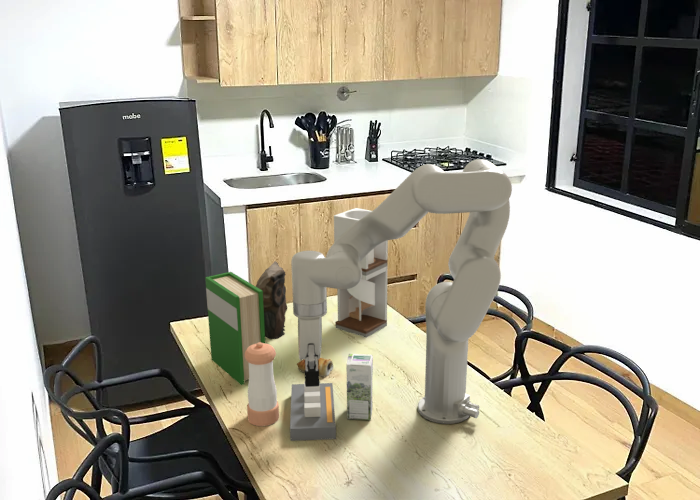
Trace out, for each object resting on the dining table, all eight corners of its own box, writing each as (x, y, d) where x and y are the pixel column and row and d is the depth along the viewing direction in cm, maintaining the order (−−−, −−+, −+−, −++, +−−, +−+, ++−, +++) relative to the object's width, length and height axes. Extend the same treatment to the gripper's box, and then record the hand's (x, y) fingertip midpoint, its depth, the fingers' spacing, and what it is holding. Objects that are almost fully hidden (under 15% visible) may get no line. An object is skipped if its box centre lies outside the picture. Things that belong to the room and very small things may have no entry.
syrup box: (372, 408, 170) (373, 353, 166) (371, 421, 164) (371, 364, 160) (349, 407, 171) (348, 352, 166) (346, 420, 165) (345, 363, 160)
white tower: (335, 328, 214) (333, 215, 203) (356, 316, 222) (356, 207, 211) (366, 337, 207) (366, 221, 197) (386, 325, 216) (388, 213, 205)
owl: (276, 319, 221) (273, 257, 215) (302, 331, 212) (300, 267, 206) (242, 330, 213) (239, 267, 206) (268, 344, 204) (265, 278, 198)
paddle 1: (304, 390, 171) (304, 381, 169) (319, 390, 171) (319, 381, 170) (304, 395, 170) (304, 385, 168) (319, 394, 170) (319, 385, 168)
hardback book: (266, 377, 185) (262, 290, 178) (241, 385, 181) (235, 297, 174) (235, 352, 199) (230, 271, 191) (211, 359, 195) (205, 277, 187)
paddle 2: (304, 412, 162) (304, 403, 160) (320, 412, 162) (320, 402, 160) (304, 417, 160) (304, 407, 159) (320, 416, 161) (320, 407, 159)
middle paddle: (304, 401, 166) (304, 392, 165) (320, 400, 166) (319, 391, 165) (304, 405, 165) (304, 396, 163) (320, 405, 165) (320, 395, 164)
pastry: (293, 374, 187) (292, 361, 186) (302, 363, 193) (302, 350, 192) (326, 379, 184) (326, 366, 183) (335, 368, 190) (335, 355, 189)
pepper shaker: (283, 422, 164) (279, 346, 158) (252, 429, 162) (247, 352, 156) (274, 407, 171) (270, 334, 165) (244, 413, 168) (240, 339, 162)
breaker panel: (292, 395, 176) (291, 384, 175) (332, 393, 177) (332, 382, 176) (290, 440, 157) (290, 428, 156) (335, 438, 158) (335, 426, 157)
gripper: (293, 292, 166) (296, 359, 172) (292, 322, 150) (295, 395, 155) (325, 291, 167) (327, 357, 172) (328, 321, 150) (329, 393, 156)
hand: (312, 375), depth 164 cm, fingers open, 9 cm apart
